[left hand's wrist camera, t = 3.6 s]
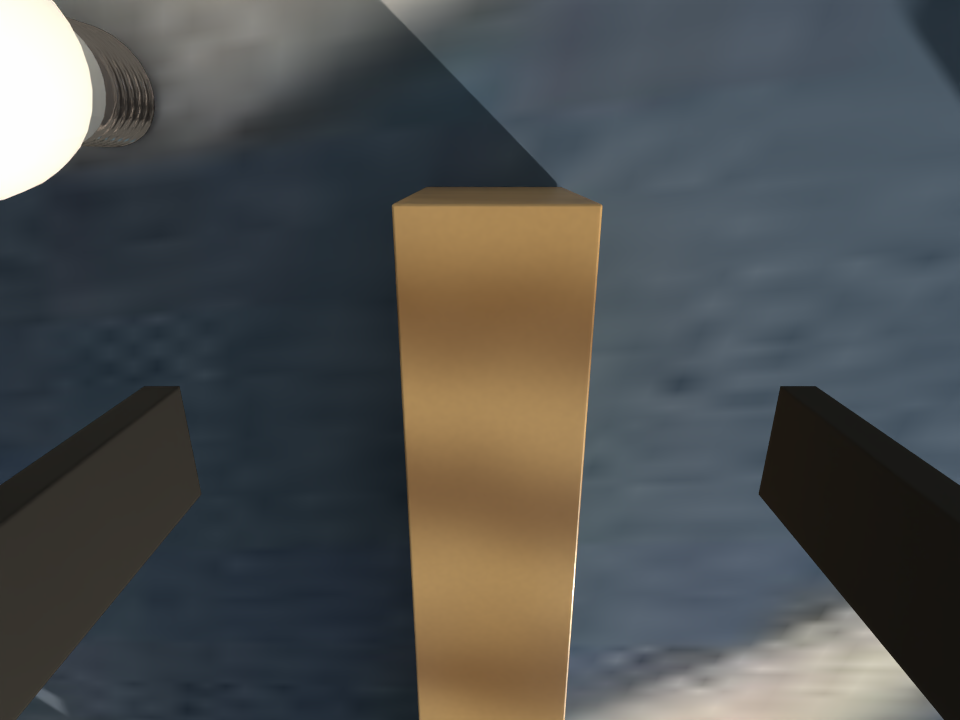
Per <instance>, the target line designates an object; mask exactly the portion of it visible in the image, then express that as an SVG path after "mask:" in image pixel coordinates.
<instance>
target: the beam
mask: <svg viewBox="0 0 960 720" xmlns="http://www.w3.org/2000/svg"><path fill="white" fill-rule="evenodd" d="M601 217H602V205H601V204H599V203H597V202H594V201H592V200H590V199H587V198H585V197H583V196H580V195H578V194H576V193H573V192H571V191H569V190H566V189H564V188H562V187H426V188H424V189H422V190H420V191H418V192H416V193H414V194H412V195H410V196H408V197H406V198H404V199H402V200H400V201H398V202H396V203H394V204H393V205H392V218H393V237H394V255H395V274H396V293H397V312H398V331H399V350H400V369H401V388H402V407H403V426H404V445H405V463H406V482H407V501H408V520H409V539H410V558H411V577H412V596H413V615H414V634H415V653H416V671H417V690H418V709H419V720H564V719H565V706H566V692H567V678H568V665H569V651H570V638H571V624H572V611H573V597H574V583H575V570H576V556H577V543H578V529H579V516H580V502H581V488H582V475H583V461H584V448H585V434H586V421H587V407H588V393H589V380H590V366H591V353H592V339H593V326H594V312H595V298H596V285H597V271H598V258H599V244H600V230H601Z"/></svg>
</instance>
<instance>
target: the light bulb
mask: <svg viewBox="0 0 960 720" xmlns="http://www.w3.org/2000/svg"><path fill="white" fill-rule="evenodd" d="M153 115H154V95H153V90H152V87H151V84H150V81H149V78H148V76H147V74H146V72H145V70H144V68H143V67H142V65H141V64H140V62H139V61H138V59H137V58H136V57H135V56H134V54H133V53H132V52H131V51H130V50H129V49H128V48H127V47H126V46H125V45H124V44H123V43H121V42H120V41H119V40H118V39H116V38H115V37H114V36H112V35H111V34H109V33H107V32H105V31H103V30H101V29H99V28H97V27H94V26H92V25H88V24H85V23H82V22H79V21H76V20H73V19H70V18H67V17H65V16H64V15H63V14H62V12H61V11H60V10H59V8H58V7H57V6H56V4H55V3H54V2H53V0H0V200H4V199H7V198H9V197H12V196H14V195H17V194H19V193H21V192H24V191H26V190H28V189H31V188H33V187H35V186H37V185H39V184H42V183H43V182H45V181H46V180H47V179H49V178H50V177H52V176H53V175H54V174H56V173H57V172H58V171H59V170H60V169H61V168H63V167H64V166H65V165H66V164H67V163H68V162H69V161H70V159H71V158H72V157H73V156H74V154H75V153H76V152H77V151H78V149H79V148H80V147H81V146H99V147H100V146H102V147H120V146H125V145H128V144H131V143H133V142H135V141H137V140H138V139H140V138H141V137H142V136H143V135H144V134H145V133H146V131H147V130H148V128H149V127H150V125H151V122H152V119H153Z"/></svg>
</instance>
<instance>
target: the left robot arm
mask: <svg viewBox="0 0 960 720" xmlns="http://www.w3.org/2000/svg"><path fill="white" fill-rule="evenodd" d="M200 495H201V490H200V485H199V480H198V475H197V470H196V465H195V460H194V456H193V451H192V446H191V441H190V436H189V431H188V426H187V421H186V416H185V411H184V406H183V401H182V396H181V391H180V387H179V386H144V387H143V388H141V389H140V390H138V391H137V392H135V393H134V394H132V395H131V396H130V397H128V398H127V399H125V400H124V401H122V402H121V403H119V404H118V405H116V406H115V407H114V408H112V409H111V410H109V411H108V412H106V413H105V414H103V415H102V416H100V417H99V418H98V419H96V420H95V421H93V422H92V423H90V424H89V425H87V426H86V427H84V428H83V429H82V430H80V431H79V432H77V433H76V434H74V435H73V436H71V437H70V438H68V439H67V440H66V441H64V442H63V443H61V444H60V445H58V446H57V447H55V448H54V449H52V450H51V451H50V452H48V453H47V454H45V455H44V456H42V457H41V458H39V459H38V460H36V461H35V462H34V463H32V464H31V465H29V466H28V467H26V468H25V469H23V470H22V471H20V472H19V473H18V474H16V475H15V476H13V477H12V478H10V479H9V480H7V481H6V482H4V483H3V484H2V485H0V720H16V719H17V718H18V716H19V715H20V714H21V713H22V712H23V710H24V709H25V708H26V707H27V706H28V704H29V703H30V702H31V701H32V699H33V698H34V697H35V696H36V695H37V693H38V692H39V691H40V690H41V689H42V687H43V686H44V685H45V684H46V682H47V681H48V680H49V679H50V678H51V676H52V675H53V674H54V673H55V672H56V670H57V669H58V668H59V667H60V665H61V664H62V663H63V662H64V661H65V659H66V658H67V657H68V656H69V654H70V653H71V652H72V651H73V650H74V648H75V647H76V646H77V645H78V644H79V642H80V641H81V640H82V639H83V637H84V636H85V635H86V634H87V633H88V631H89V630H90V629H91V628H92V627H93V625H94V624H95V623H96V622H97V620H98V619H99V618H100V617H101V616H102V614H103V613H104V612H105V611H106V610H107V608H108V607H109V606H110V605H111V603H112V602H113V601H114V600H115V599H116V597H117V596H118V595H119V594H120V593H121V591H122V590H123V589H124V588H125V586H126V585H127V584H128V583H129V582H130V580H131V579H132V578H133V577H134V575H135V574H136V573H137V572H138V571H139V569H140V568H141V567H142V566H143V565H144V563H145V562H146V561H147V560H148V558H149V557H150V556H151V555H152V554H153V552H154V551H155V550H156V549H157V548H158V546H159V545H160V544H161V543H162V541H163V540H164V539H165V538H166V537H167V535H168V534H169V533H170V532H171V531H172V529H173V528H174V527H175V526H176V524H177V523H178V522H179V521H180V520H181V518H182V517H183V516H184V515H185V513H186V512H187V511H188V510H189V509H190V507H191V506H192V505H193V504H194V503H195V501H196V500H197V499H198V498H199V496H200ZM759 495H760V496H761V498H762V499H763V500H764V501H765V503H766V504H767V505H768V506H769V507H770V509H771V510H772V511H773V512H774V514H775V515H776V516H777V517H778V518H779V520H780V521H781V522H782V523H783V524H784V526H785V527H786V528H787V529H788V531H789V532H790V533H791V534H792V535H793V537H794V538H795V539H796V540H797V541H798V543H799V544H800V545H801V546H802V548H803V549H804V550H805V551H806V552H807V554H808V555H809V556H810V557H811V558H812V560H813V561H814V562H815V563H816V565H817V566H818V567H819V568H820V569H821V571H822V572H823V573H824V574H825V575H826V577H827V578H828V579H829V580H830V582H831V583H832V584H833V585H834V586H835V588H836V589H837V590H838V591H839V593H840V594H841V595H842V596H843V597H844V599H845V600H846V601H847V602H848V603H849V605H850V606H851V607H852V608H853V610H854V611H855V612H856V613H857V614H858V616H859V617H860V618H861V619H862V620H863V622H864V623H865V624H866V625H867V627H868V628H869V629H870V630H871V631H872V633H873V634H874V635H875V636H876V637H877V639H878V640H879V641H880V642H881V644H882V645H883V646H884V647H885V648H886V650H887V651H888V652H889V653H890V654H891V656H892V657H893V658H894V659H895V661H896V662H897V663H898V664H899V665H900V667H901V668H902V669H903V670H904V672H905V673H906V674H907V675H908V676H909V678H910V679H911V680H912V681H913V682H914V684H915V685H916V686H917V687H918V689H919V690H920V691H921V692H922V693H923V695H924V696H925V697H926V698H927V699H928V701H929V702H930V703H931V704H932V706H933V707H934V708H935V709H936V710H937V712H938V713H939V714H940V715H941V716H942V718H943V719H944V720H960V485H958V484H957V483H956V482H954V481H953V480H951V479H950V478H948V477H947V476H945V475H944V474H942V473H941V472H940V471H938V470H937V469H935V468H934V467H932V466H931V465H929V464H928V463H926V462H925V461H924V460H922V459H921V458H919V457H918V456H916V455H915V454H913V453H912V452H910V451H909V450H908V449H906V448H905V447H903V446H902V445H900V444H899V443H897V442H896V441H894V440H893V439H892V438H890V437H889V436H887V435H886V434H884V433H883V432H881V431H880V430H878V429H877V428H876V427H874V426H873V425H871V424H870V423H868V422H867V421H865V420H864V419H862V418H861V417H860V416H858V415H857V414H855V413H854V412H852V411H851V410H849V409H848V408H846V407H845V406H844V405H842V404H841V403H839V402H838V401H836V400H835V399H833V398H832V397H830V396H829V395H828V394H826V393H825V392H823V391H822V390H820V389H819V388H817V387H816V386H781V387H780V391H779V396H778V401H777V406H776V411H775V416H774V421H773V426H772V431H771V436H770V441H769V446H768V451H767V456H766V460H765V465H764V470H763V475H762V480H761V485H760V490H759Z"/></svg>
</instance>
